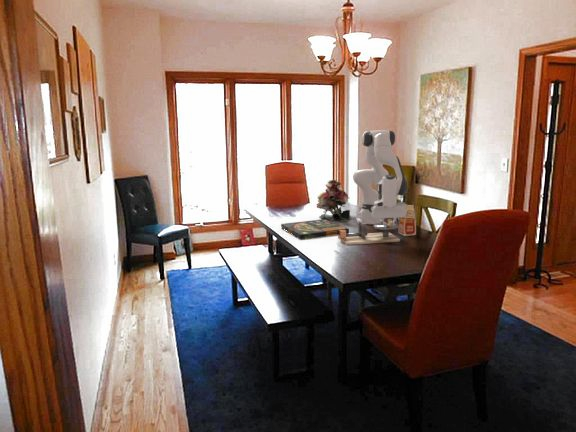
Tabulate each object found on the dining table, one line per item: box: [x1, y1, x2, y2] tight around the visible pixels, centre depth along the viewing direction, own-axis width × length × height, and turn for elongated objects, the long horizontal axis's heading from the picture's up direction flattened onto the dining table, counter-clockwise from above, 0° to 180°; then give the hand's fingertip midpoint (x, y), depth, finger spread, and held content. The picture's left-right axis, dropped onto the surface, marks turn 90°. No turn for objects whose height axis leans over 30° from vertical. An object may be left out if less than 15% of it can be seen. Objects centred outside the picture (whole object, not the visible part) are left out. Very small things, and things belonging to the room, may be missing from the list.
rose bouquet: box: [316, 179, 351, 223], centre depth 333 cm, size 26×29×30 cm
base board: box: [337, 221, 401, 246], centre depth 271 cm, size 18×34×11 cm, turn 98°
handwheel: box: [373, 218, 399, 231], centre depth 270 cm, size 15×15×6 cm
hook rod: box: [338, 230, 368, 240], centre depth 270 cm, size 4×17×5 cm, turn 98°
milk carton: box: [397, 203, 417, 237], centre depth 282 cm, size 9×9×20 cm
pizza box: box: [280, 218, 350, 240], centre depth 299 cm, size 35×35×4 cm
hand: (388, 224), depth 264 cm, fingers open, 3 cm apart
